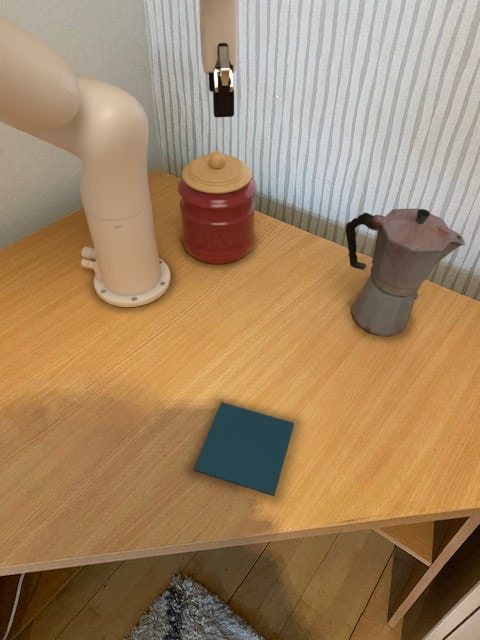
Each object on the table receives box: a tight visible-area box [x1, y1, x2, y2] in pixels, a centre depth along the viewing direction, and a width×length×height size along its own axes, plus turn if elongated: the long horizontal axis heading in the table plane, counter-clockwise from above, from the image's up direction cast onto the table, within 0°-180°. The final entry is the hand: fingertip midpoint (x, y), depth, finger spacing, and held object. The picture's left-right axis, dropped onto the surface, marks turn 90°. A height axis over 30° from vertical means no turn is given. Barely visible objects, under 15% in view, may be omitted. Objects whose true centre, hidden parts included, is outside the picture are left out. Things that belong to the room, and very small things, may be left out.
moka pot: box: [345, 208, 466, 337], centre depth 68 cm, size 10×15×20 cm, turn 78°
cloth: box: [193, 401, 295, 497], centre depth 59 cm, size 10×10×1 cm
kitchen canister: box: [177, 151, 257, 265], centre depth 81 cm, size 13×13×18 cm
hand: (221, 103), depth 78 cm, fingers open, 9 cm apart
